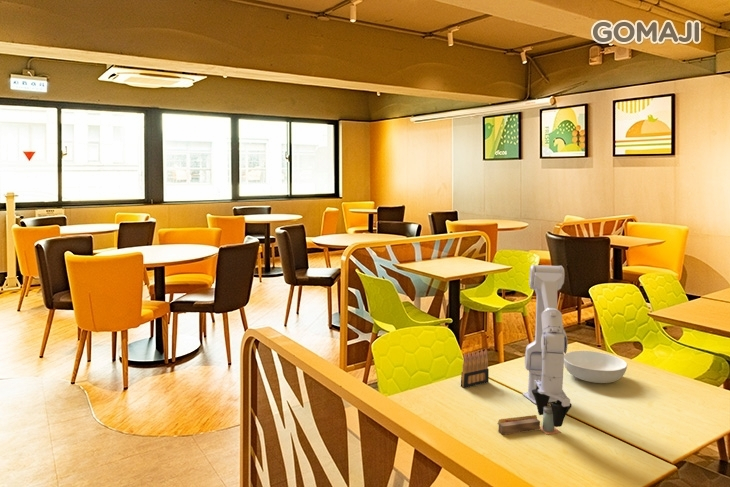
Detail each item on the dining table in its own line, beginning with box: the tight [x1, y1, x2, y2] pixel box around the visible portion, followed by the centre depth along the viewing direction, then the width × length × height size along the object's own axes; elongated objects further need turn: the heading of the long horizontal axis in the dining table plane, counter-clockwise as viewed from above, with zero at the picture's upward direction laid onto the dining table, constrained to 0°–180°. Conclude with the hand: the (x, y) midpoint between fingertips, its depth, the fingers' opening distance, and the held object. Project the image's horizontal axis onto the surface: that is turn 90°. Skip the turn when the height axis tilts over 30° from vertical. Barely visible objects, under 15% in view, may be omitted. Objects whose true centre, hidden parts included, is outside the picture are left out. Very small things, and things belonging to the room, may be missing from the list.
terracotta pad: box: [540, 425, 562, 436], centre depth 162 cm, size 4×4×1 cm
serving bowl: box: [564, 350, 628, 384], centre depth 200 cm, size 21×21×7 cm
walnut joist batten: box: [497, 417, 541, 436], centre depth 161 cm, size 12×2×2 cm, turn 105°
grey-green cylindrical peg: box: [542, 405, 556, 432], centre depth 161 cm, size 3×3×6 cm
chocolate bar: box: [497, 414, 538, 426], centre depth 166 cm, size 3×12×2 cm, turn 104°
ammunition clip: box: [460, 348, 490, 389], centre depth 194 cm, size 11×2×12 cm, turn 118°
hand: (549, 420), depth 161 cm, fingers open, 7 cm apart
